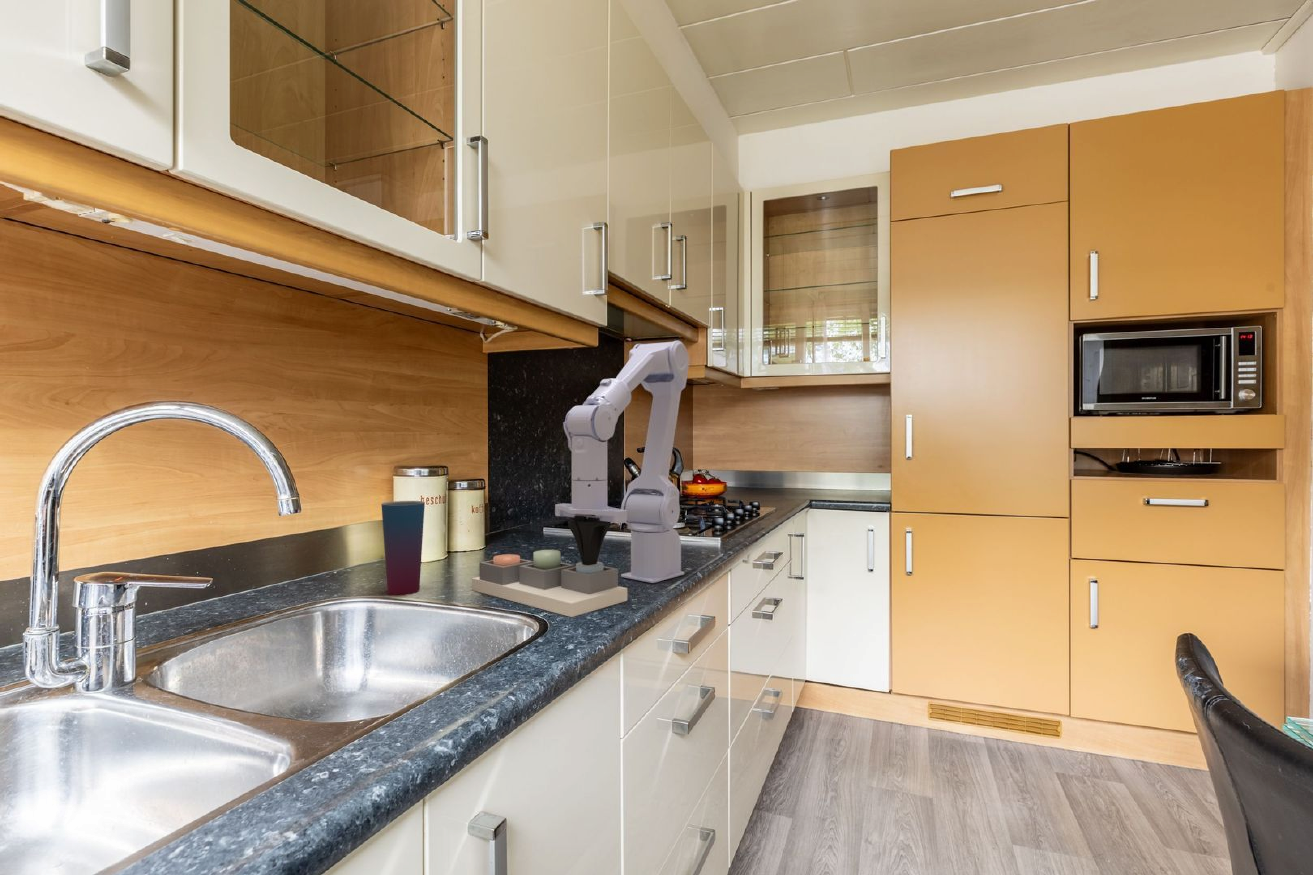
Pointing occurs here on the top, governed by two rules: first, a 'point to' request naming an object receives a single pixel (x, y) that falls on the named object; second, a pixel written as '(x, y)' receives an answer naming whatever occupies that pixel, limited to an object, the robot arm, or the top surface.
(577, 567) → the button blue
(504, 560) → the button terracotta
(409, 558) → the cup
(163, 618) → the top surface
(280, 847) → the top surface
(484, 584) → the panel
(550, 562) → the button green
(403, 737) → the top surface
